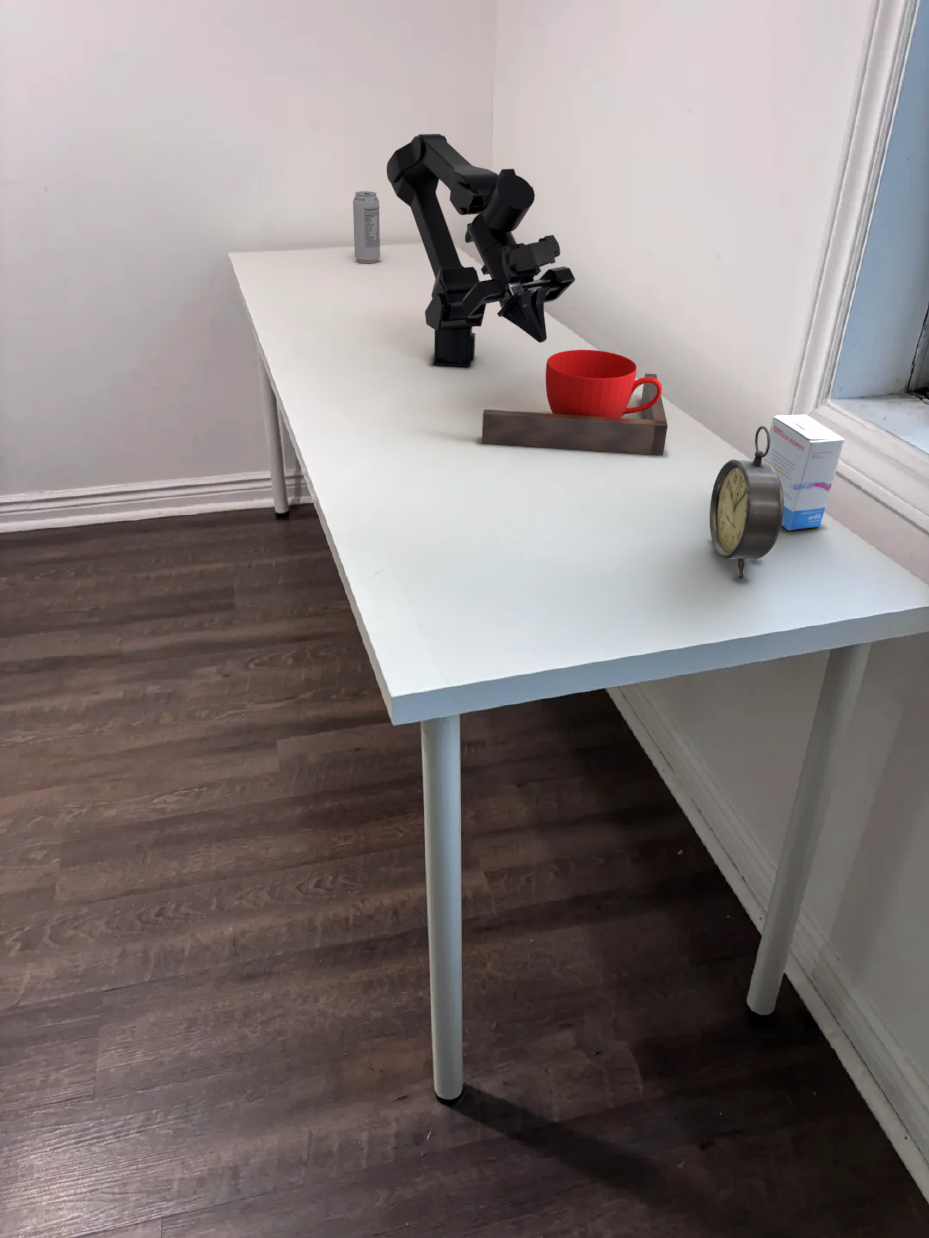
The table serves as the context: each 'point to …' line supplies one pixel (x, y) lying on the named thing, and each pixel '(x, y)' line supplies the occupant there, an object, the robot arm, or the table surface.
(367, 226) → the energy drink can
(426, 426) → the table surface
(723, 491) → the alarm clock
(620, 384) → the ceramic cup
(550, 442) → the corner guide
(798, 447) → the ink box
